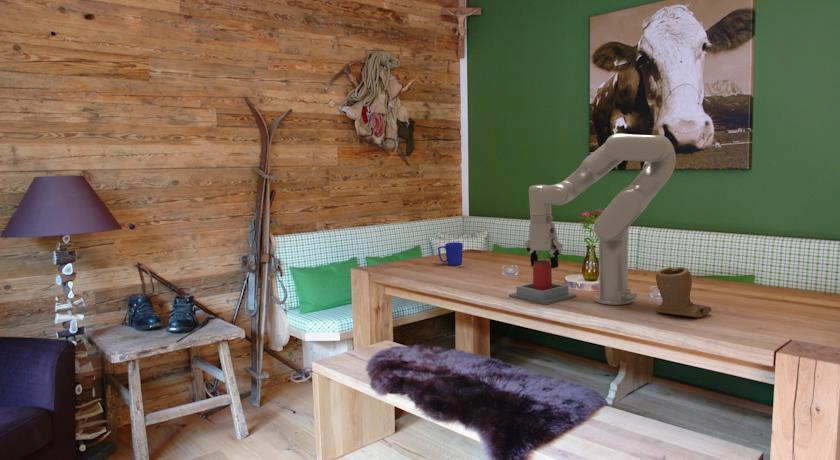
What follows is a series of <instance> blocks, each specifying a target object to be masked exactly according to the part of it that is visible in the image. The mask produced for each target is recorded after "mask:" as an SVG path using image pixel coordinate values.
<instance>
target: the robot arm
mask: <svg viewBox="0 0 840 460" xmlns="http://www.w3.org/2000/svg"><path fill="white" fill-rule="evenodd" d="M623 161H628V162H630V161H631V162H646V163H647V164H646V165H645V166H644V168H642V170H641V171H640V172H639V174H638V175H637V176H636V177H635V179H634V180H633V181H632V182H631V183H630V184H629V185H628V186H627V187H624V188H623V189H622V190H620V191H619V192H618V193H617V194H616V195H615V197H614V198H613V199H612V200H611V202H610V203H609V204H608V205H607V206H606V207H605V208H604V209H603V210H602V212H601V213H600V214H599V215H598V217H597V218H596V219H595V221H594V225H593V230H594V233H595V236H597V237H596V238H598V295H595V296H594V301H595V302H596V303H597V304H601V305H607V306H608V305H611V306H619V305H621V306H622V305H629V304H631V303H633V301H636V298H637V293H633V292H631V288H629V284H628V283H629V281H628V280H629V275H628V274H629V271H628V270H629V266H628V260H629V258H628V256H629V255H628V252H629V249H628V247H629V246H628V245H629V231H630V230H629V228H630V226H631V225H632V224H633V223H634V222H635V221H636V219H638V218H639V216H640V215H641V214H642V212H644V211H645V210H646V209H647V207H648V205H649V203H650V202H651V201H652V200H653V199H654V198H655V196H656V195H657V194H658V193H659V191H660V190H662V188H663V187H664V186H665V184H667V182H668V181H669V179H670V178H671V176H672V175H673V173H674V171H675V169H676V168H675V167H676V163H677V155H676V151H675V147H674V145H673V143H672V142H671V141H670V139H669V138H668V137H666V136H664V135H662V134H661V135H660V134H633V133H632V134H630V133H629V134H628V133H624V132H623V133H622V132H621V133H620V132H618V133H617V132H616V133H613V134H611V135H610V136H609V137H607V139H606V140H605V142H604V143H603V144H602V145H601V146H599V147H598V148H597V149H596V150H594V151H592V153H590V154H589V155H588V156H586V157H585V158H584V159H583V161H582V162H581V164H580V165H579V167H578V168H577V169H575V170H574V171H573V172H571V174H570V175H569V176H568V177H566V178H565V179H564V180H562V181H561V182H558V183H555V184H550V185H548V184H534V185H533V184H532V185H531V186H529V188H528V200H529V214H530V216H529V217H530V223H529V224H530V225H529V232H528V233H529V234H528V235H529V236H528V238H529V239H528V240H527V241H525V242H524V246H525V248H526V251H527V252H528V256H530V267H533V265H534V262H535V261H539V254H537V253H538V252H545V253H546V252H548V253H549V255H550V258H549V260H550V261H549V262H550V265H551V269H555V268H559V256H560V253H562V249H563V244H562V243H561V242H559V240H558V234H557V230H556V225H555V223H554V222H553V220H554V216H553V215H552V212H553V211H552V205H554V206H562V205H565V204H567V203H570V202H571V201H573V200H575V198H578V196H579V195H580V194H582V193H583V192H584V191H586V190H587V189H588V188H589V187H590V186H591V185H593V184H595V183H596V182H598V181H599V180H601V178H603V177H604V176H605V175H607V174H608V173H609V172H611V171H612V170H613V169H614V168H615V167H618V165H619V164H621V163H622V162H623Z"/></svg>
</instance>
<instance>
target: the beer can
mask: <svg viewBox="0 0 840 460" xmlns="http://www.w3.org/2000/svg"><path fill="white" fill-rule="evenodd" d="M552 271H553V270H552V268H551V261H549V260H546V259H545V260H538V261H535V262H534V265H533V266H532V283H533V289H536V290H541V291H544V290H548V289H552V283H553V282H552V281H553V279H552V273H553V272H552Z"/></svg>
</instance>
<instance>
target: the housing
mask: <svg viewBox="0 0 840 460" xmlns="http://www.w3.org/2000/svg"><path fill="white" fill-rule="evenodd" d="M515 288H516V292H512V293H509V294H508V297H509V298H512V299H517V300H521V301H525V302H531V303H533V304H534V303H535V304H539V305H543V306H547V305H551V304H555V303H559V302H563V301H567V300H570V299H574V298H577V294H576V293H570V292H569V285H565V284H560V283H554V282H552V289H548V290H544V291H541V290H536V289H533V282H530V283H526V284H523V285H522V284H521V285H518V286H516V287H515Z"/></svg>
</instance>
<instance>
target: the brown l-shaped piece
mask: <svg viewBox="0 0 840 460" xmlns="http://www.w3.org/2000/svg"><path fill="white" fill-rule="evenodd" d="M655 281H656V286H657V290H658V292H659V294H660V296H661V299H662V303H661V304H660V305H657V306H656V308H655V311H656V312H657V313H661V314H667V315H672V316H673V315H674V316H680V317H689V318H703V317H705V316H707V315H708V314H709V313H711V311H712V307H711V306H708V305H703V304H702V305H701V304H696V303H693V302H692V301H691V292H692V286H693V285H692V274H691V272H690V270H689V269H688V268H686V267H684V266H683V267H682V266H679V267H675V268H674V267H666V268H663V269H660V270H658V271H657V272H656V274H655Z"/></svg>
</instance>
